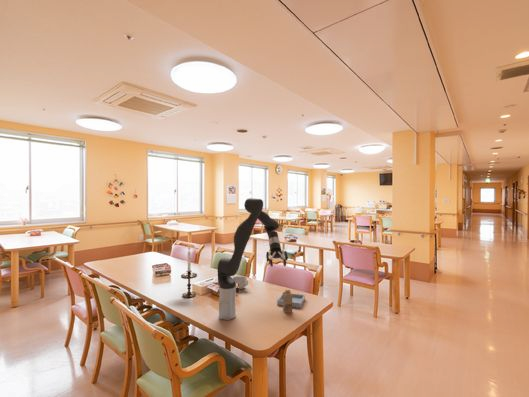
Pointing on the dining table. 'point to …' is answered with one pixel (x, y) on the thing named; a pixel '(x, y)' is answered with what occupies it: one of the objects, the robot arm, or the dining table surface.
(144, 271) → the dining table surface
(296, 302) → the candle dish
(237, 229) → the robot arm
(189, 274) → the candlestick
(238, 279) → the teacup
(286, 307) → the wick block
